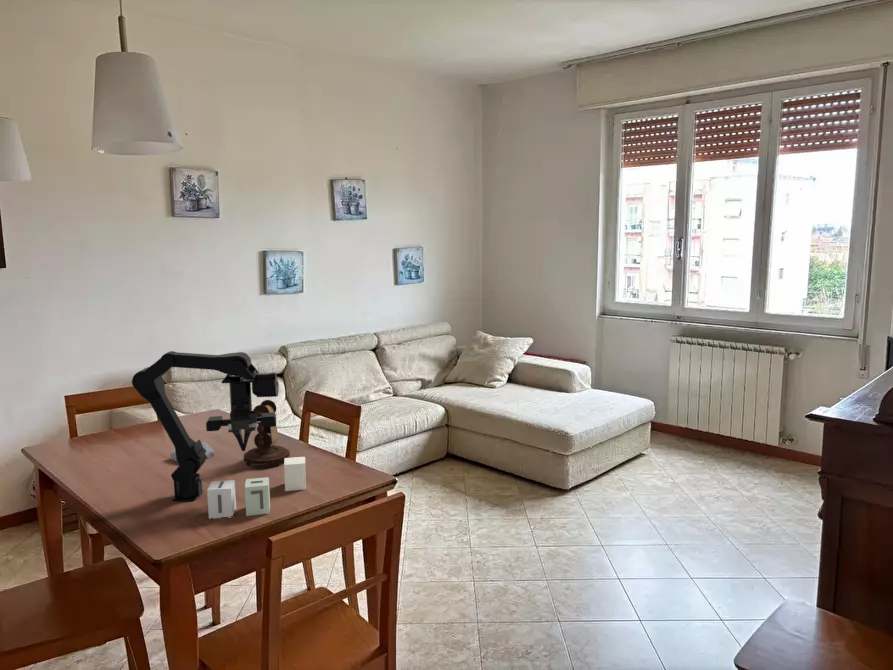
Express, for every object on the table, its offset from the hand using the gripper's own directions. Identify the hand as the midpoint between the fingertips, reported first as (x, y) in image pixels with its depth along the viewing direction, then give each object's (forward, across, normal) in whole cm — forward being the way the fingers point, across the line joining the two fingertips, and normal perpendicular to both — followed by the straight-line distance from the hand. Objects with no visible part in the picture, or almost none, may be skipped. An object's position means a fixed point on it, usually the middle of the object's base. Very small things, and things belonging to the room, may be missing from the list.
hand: (243, 450), depth 184 cm
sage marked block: (+13, +4, -12) cm, 18 cm away
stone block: (+14, -19, +37) cm, 43 cm away
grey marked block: (+13, -5, -12) cm, 19 cm away
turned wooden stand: (+13, +5, +28) cm, 31 cm away
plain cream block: (+13, +14, +2) cm, 19 cm away
